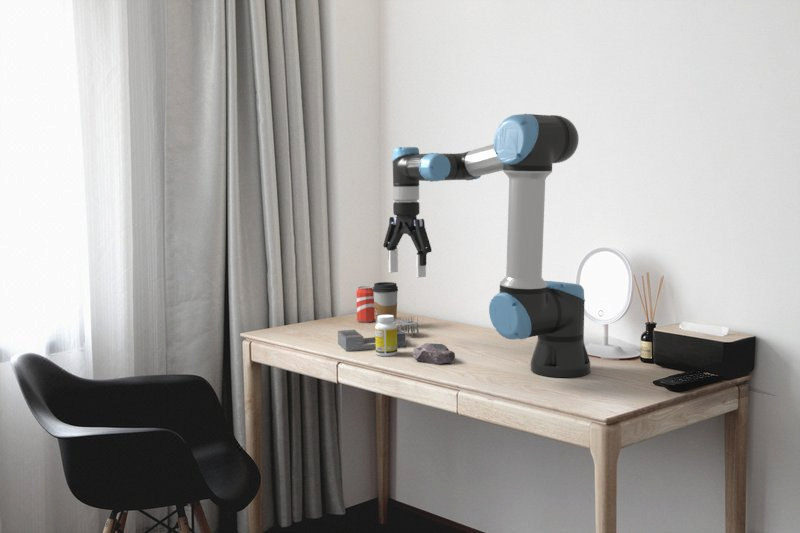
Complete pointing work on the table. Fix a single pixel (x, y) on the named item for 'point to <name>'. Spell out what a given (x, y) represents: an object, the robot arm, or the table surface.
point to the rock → (434, 354)
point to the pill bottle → (386, 336)
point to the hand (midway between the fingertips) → (406, 274)
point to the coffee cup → (385, 299)
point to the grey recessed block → (363, 340)
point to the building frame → (408, 323)
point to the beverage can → (365, 304)
